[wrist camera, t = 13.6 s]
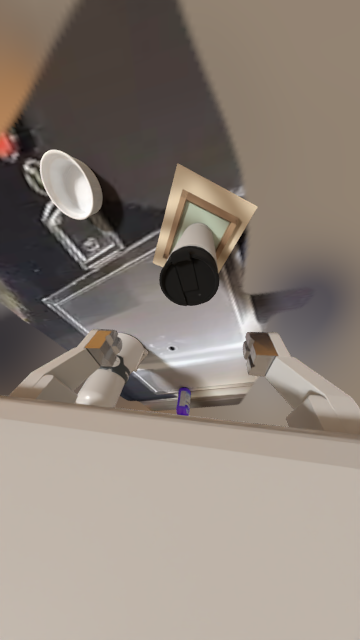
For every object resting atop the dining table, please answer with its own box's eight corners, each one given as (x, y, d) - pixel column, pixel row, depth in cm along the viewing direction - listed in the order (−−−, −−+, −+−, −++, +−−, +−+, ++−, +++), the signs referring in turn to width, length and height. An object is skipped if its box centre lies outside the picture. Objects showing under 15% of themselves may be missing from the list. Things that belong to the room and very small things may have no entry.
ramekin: (104, 225, 32) (92, 228, 29) (61, 203, 30) (44, 204, 27) (108, 173, 26) (94, 170, 23) (56, 142, 25) (33, 134, 21)
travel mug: (210, 215, 27) (215, 241, 12) (214, 252, 31) (223, 308, 16) (178, 225, 28) (146, 259, 13) (186, 259, 32) (168, 315, 17)
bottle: (192, 392, 79) (189, 431, 66) (183, 393, 81) (178, 431, 68) (187, 386, 75) (183, 426, 62) (177, 386, 77) (171, 426, 64)
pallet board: (209, 284, 37) (210, 289, 35) (154, 260, 35) (151, 264, 33) (255, 206, 26) (259, 207, 24) (178, 164, 24) (176, 162, 22)
